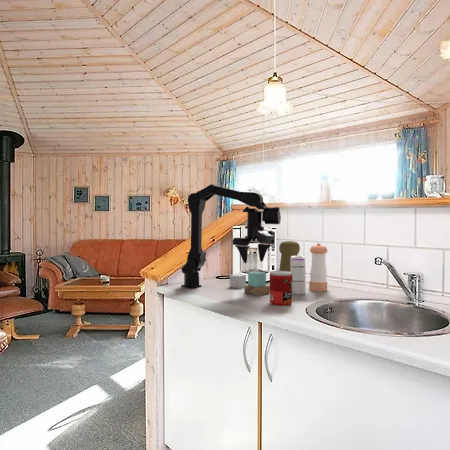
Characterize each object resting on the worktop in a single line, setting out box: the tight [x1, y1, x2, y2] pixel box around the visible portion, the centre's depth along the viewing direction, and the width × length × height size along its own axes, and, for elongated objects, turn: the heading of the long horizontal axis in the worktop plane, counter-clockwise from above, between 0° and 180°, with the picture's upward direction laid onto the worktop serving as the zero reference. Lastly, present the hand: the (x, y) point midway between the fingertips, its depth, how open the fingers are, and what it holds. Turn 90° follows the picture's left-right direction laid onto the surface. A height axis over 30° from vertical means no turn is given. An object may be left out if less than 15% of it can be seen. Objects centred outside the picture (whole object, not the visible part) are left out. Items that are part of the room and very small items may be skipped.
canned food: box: [269, 270, 293, 307], centre depth 142 cm, size 8×8×11 cm
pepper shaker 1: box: [278, 240, 301, 272], centre depth 179 cm, size 10×10×19 cm
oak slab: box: [243, 284, 270, 297], centre depth 160 cm, size 7×7×3 cm
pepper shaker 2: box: [308, 242, 328, 292], centre depth 167 cm, size 7×7×19 cm
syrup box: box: [290, 255, 306, 295], centre depth 161 cm, size 6×6×14 cm
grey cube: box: [229, 273, 247, 289], centre depth 174 cm, size 5×5×5 cm
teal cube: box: [247, 271, 267, 287], centre depth 160 cm, size 5×5×5 cm
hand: (253, 262), depth 164 cm, fingers open, 9 cm apart
